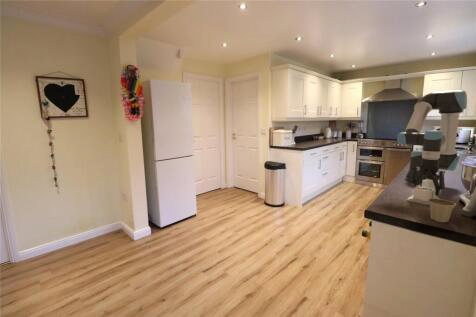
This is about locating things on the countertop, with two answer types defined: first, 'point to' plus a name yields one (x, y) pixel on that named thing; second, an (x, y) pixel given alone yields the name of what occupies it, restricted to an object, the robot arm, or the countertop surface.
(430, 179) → the medicine bottle
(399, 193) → the countertop surface
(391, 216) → the countertop surface
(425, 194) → the cream cube
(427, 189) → the hub plate
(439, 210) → the flower pot
